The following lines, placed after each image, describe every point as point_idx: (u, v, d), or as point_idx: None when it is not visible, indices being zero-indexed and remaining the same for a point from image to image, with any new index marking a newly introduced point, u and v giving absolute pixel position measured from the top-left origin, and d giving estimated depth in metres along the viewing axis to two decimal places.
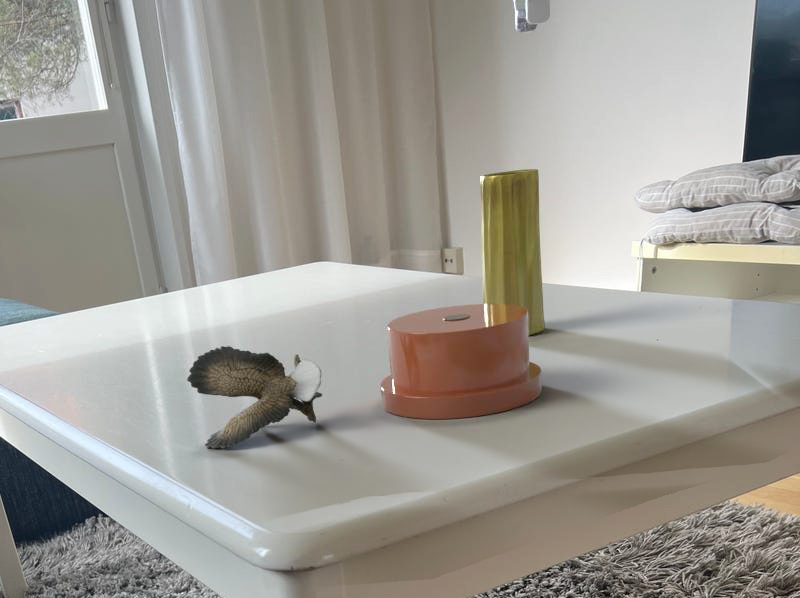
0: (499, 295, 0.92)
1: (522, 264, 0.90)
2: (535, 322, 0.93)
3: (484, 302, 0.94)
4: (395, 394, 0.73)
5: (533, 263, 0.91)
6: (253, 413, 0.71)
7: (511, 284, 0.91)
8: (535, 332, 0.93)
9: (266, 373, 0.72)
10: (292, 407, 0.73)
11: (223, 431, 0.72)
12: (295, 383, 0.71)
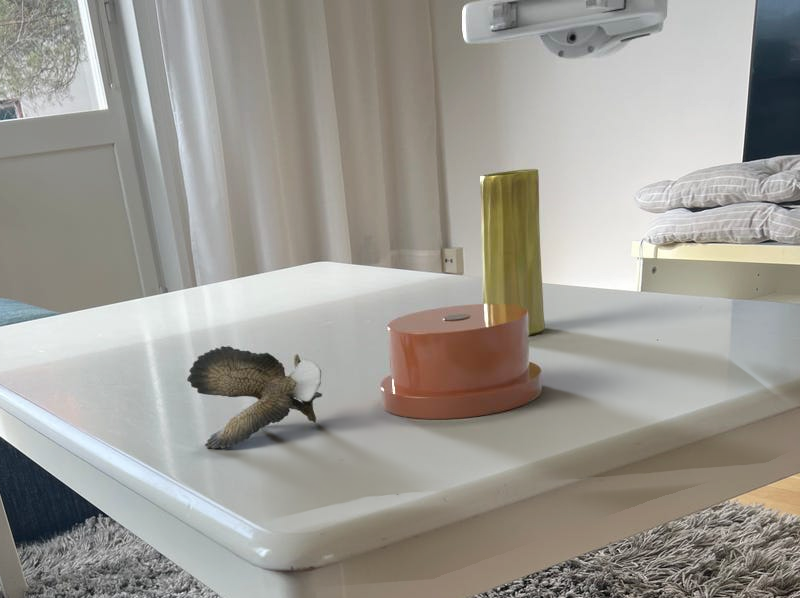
0: (499, 295, 0.92)
1: (522, 264, 0.90)
2: (535, 322, 0.93)
3: (484, 302, 0.94)
4: (395, 394, 0.73)
5: (533, 263, 0.91)
6: (253, 413, 0.71)
7: (511, 284, 0.91)
8: (535, 332, 0.93)
9: (266, 373, 0.72)
10: (292, 407, 0.73)
11: (223, 431, 0.72)
12: (295, 383, 0.71)
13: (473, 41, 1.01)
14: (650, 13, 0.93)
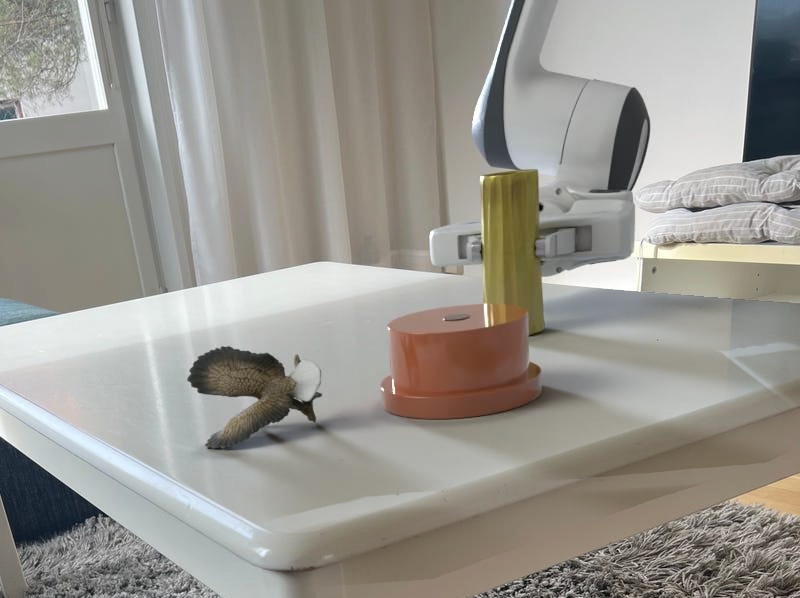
0: (499, 295, 0.92)
1: (522, 264, 0.90)
2: (535, 322, 0.93)
3: (484, 302, 0.94)
4: (395, 394, 0.73)
5: (533, 263, 0.91)
6: (253, 413, 0.71)
7: (511, 284, 0.91)
8: (535, 332, 0.93)
9: (266, 373, 0.72)
10: (292, 407, 0.73)
11: (223, 431, 0.72)
12: (295, 383, 0.71)
13: (441, 266, 1.00)
14: (616, 256, 0.92)
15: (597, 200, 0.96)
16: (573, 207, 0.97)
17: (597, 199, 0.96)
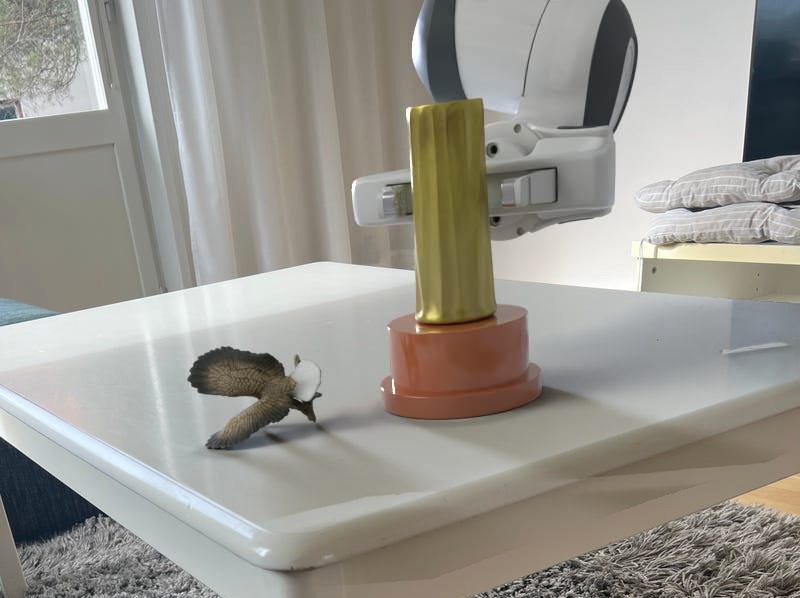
0: (435, 267, 0.70)
1: (463, 225, 0.68)
2: (482, 303, 0.71)
3: (416, 277, 0.72)
4: (395, 394, 0.73)
5: (478, 224, 0.69)
6: (253, 413, 0.71)
7: (449, 252, 0.69)
8: (482, 316, 0.71)
9: (266, 373, 0.72)
10: (292, 407, 0.73)
11: (223, 431, 0.72)
12: (295, 383, 0.71)
13: (367, 226, 0.78)
14: (590, 208, 0.70)
15: (566, 138, 0.74)
16: (536, 148, 0.75)
17: (566, 137, 0.74)
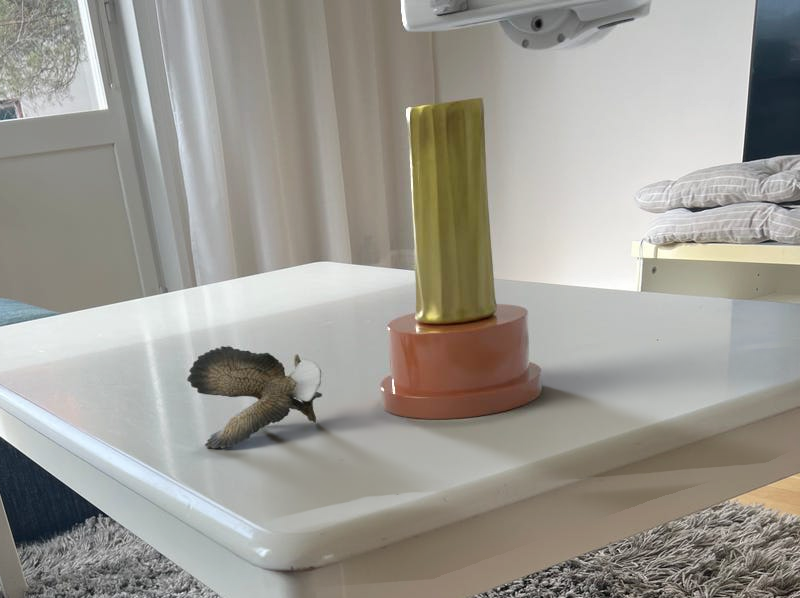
0: (435, 267, 0.70)
1: (463, 225, 0.68)
2: (482, 303, 0.71)
3: (416, 277, 0.72)
4: (395, 394, 0.73)
5: (478, 224, 0.69)
6: (253, 413, 0.71)
7: (449, 252, 0.69)
8: (482, 316, 0.71)
9: (266, 373, 0.72)
10: (292, 407, 0.73)
11: (223, 431, 0.72)
12: (295, 383, 0.71)
13: (415, 29, 0.81)
14: None
15: None
16: None
17: None
